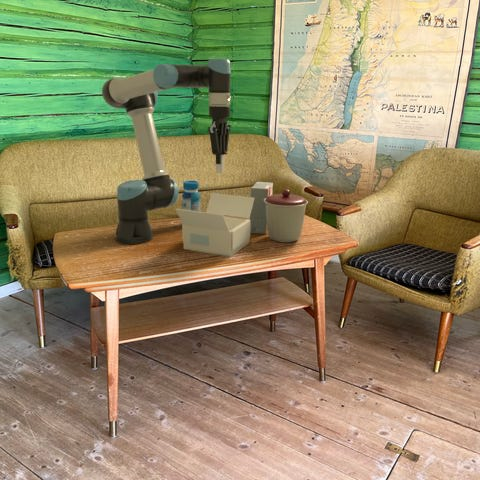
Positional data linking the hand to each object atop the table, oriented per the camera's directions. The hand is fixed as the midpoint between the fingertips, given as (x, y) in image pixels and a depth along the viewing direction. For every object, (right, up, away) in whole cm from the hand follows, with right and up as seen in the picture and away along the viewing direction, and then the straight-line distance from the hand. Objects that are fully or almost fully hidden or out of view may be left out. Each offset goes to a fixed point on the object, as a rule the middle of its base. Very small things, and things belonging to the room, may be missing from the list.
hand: (219, 172), depth 177 cm
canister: (+26, -24, +26) cm, 44 cm away
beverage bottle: (-15, -18, +43) cm, 49 cm away
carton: (-2, -27, +16) cm, 31 cm away
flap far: (+3, -10, +22) cm, 24 cm away
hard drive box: (+17, -20, +39) cm, 47 cm away
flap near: (-6, -17, +1) cm, 18 cm away
